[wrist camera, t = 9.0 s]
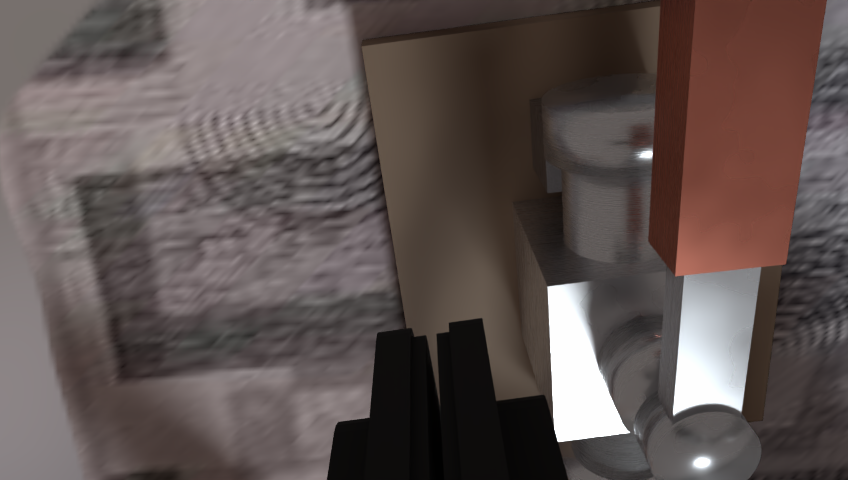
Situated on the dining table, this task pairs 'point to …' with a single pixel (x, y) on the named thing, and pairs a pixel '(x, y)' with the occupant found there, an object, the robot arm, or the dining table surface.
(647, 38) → the walnut board
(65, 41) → the dining table surface
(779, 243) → the lever
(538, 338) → the valve body
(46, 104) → the dining table surface
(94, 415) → the dining table surface
